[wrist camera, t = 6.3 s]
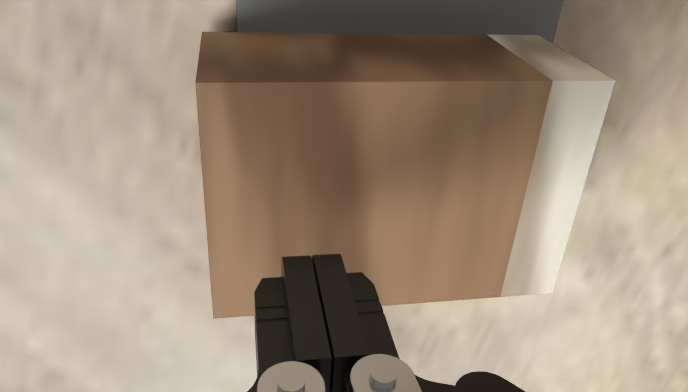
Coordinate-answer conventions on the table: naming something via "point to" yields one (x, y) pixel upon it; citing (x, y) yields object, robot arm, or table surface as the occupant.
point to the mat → (401, 16)
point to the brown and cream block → (394, 159)
